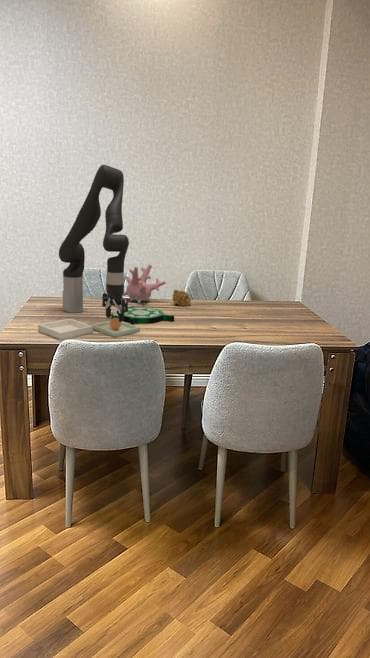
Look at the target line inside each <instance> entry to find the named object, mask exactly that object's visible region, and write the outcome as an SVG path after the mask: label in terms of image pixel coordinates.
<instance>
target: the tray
mask: <svg viewBox="0 0 370 658" xmlns="http://www.w3.org/2000/svg"><path fill="white" fill-rule="evenodd" d="M110 321H111V320H107V321H103V322H98V323H94V324H93V323H92V324H90V325H91V326H93V331H96V332H98V333H100V332H101V334H103V333H104V335H106V334H107V336H110V337H112V338H114V337H115V338H119V337H124V336H128V335H132V334H136V333H140V332H141V326H137V325H136V324H134V325H132V324H130V323H127V322H121V327H120V328H119V329H113V328H111V326H110Z"/></svg>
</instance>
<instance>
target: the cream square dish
mask: <svg viewBox="0 0 370 658" xmlns="http://www.w3.org/2000/svg"><path fill="white" fill-rule="evenodd" d="M91 325H92V324H88V323H84V322H82V321H80V320H79V321H78V320H76V319H73V318H65V319H60V320H54V321H50V322H44V323H38V325H37V326H38V327H37V328H38V330H37V331H38V332H39V333H41V334H43V335H46V336H49V337H52V339H53V338H54V339H56V340H59V341H64V340H68V339H72V338H77V337H81V336H87V335H90V334H91V335H92V334H93V333H94V332H93V331H94V330H93V326H91Z"/></svg>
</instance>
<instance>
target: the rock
mask: <svg viewBox="0 0 370 658" xmlns="http://www.w3.org/2000/svg"><path fill="white" fill-rule="evenodd" d="M189 296H190V295H189V293H187V292H186V291H185V290H178V289H174V290H173V293H172V301H173V302H174V303H175V305H177V306H180V307H181V306H182V307H189V306H190V305H191V301H192V299H191V298H190V297H189Z"/></svg>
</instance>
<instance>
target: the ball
mask: <svg viewBox="0 0 370 658" xmlns="http://www.w3.org/2000/svg"><path fill="white" fill-rule="evenodd" d="M109 321H110V326H111V328H113V329H119V328H120V327H121V322H119V318H113V319H111V318H110V320H109Z"/></svg>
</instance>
